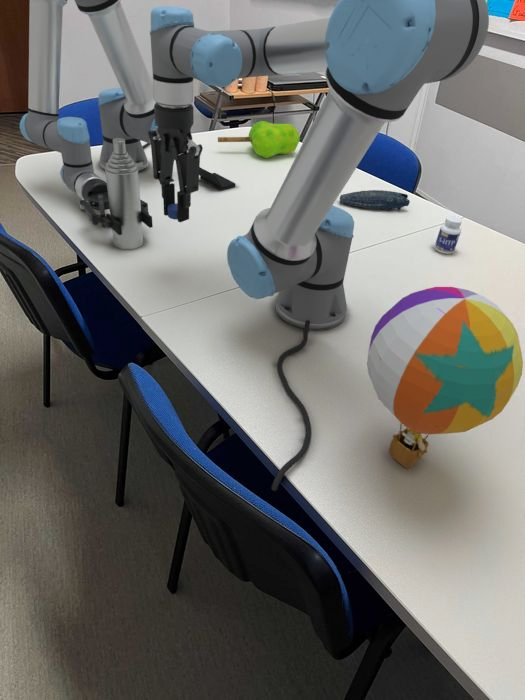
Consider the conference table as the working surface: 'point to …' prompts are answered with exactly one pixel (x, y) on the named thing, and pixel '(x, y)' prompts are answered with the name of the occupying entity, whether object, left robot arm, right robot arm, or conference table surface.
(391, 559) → the conference table surface
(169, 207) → the cap
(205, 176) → the handheld gaming console
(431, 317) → the toy
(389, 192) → the fish model
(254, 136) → the decorative tree
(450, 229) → the pill bottle
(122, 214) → the bottle
